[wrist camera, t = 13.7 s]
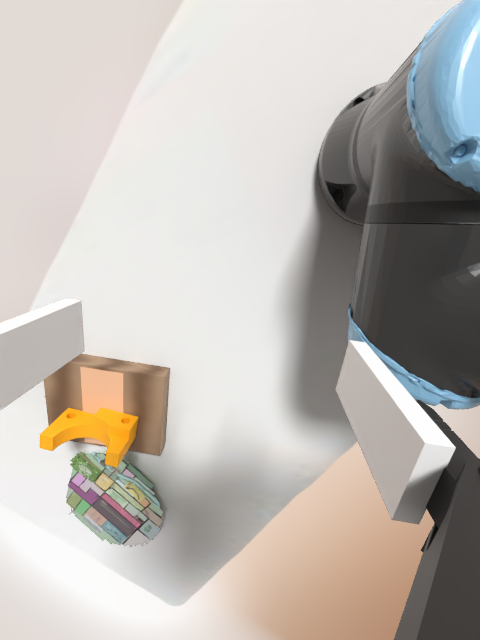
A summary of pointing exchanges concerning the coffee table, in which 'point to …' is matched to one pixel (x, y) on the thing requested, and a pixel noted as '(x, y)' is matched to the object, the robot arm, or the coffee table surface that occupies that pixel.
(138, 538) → the city model
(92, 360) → the board
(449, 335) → the robot arm
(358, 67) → the coffee table surface
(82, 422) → the pipe clamp
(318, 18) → the coffee table surface
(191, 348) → the coffee table surface
